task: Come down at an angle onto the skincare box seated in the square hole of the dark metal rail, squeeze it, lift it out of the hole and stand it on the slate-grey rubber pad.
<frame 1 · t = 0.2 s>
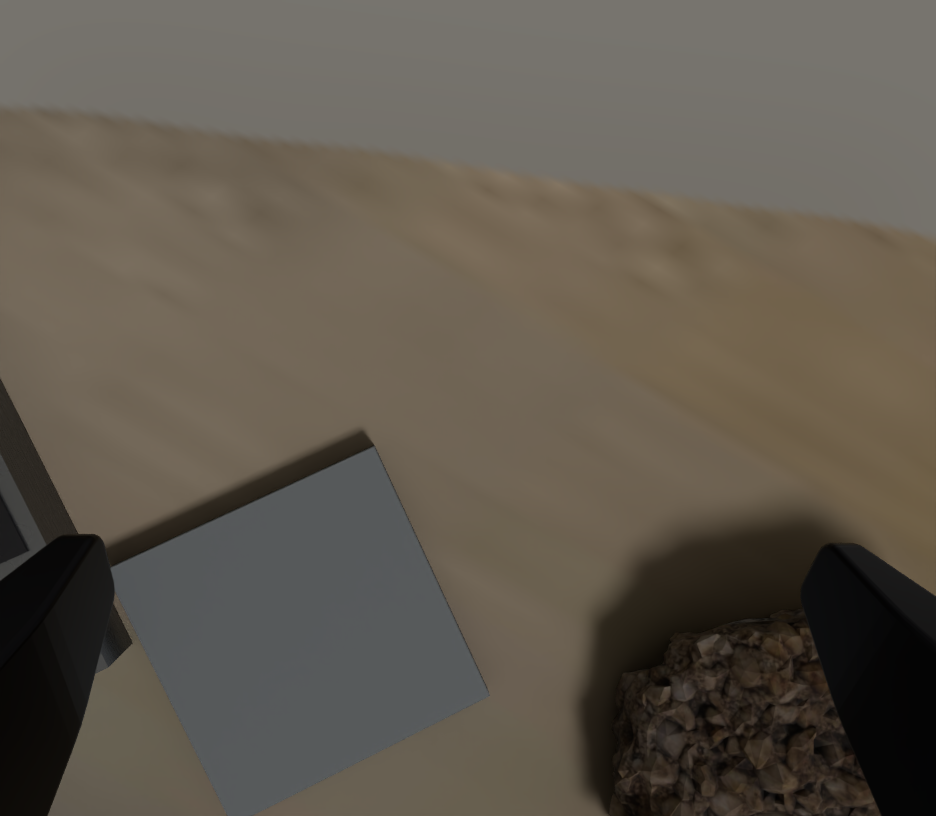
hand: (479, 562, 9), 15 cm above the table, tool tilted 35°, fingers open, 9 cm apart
pad: (305, 628, 23), on the table
concrete sample: (759, 711, 26), on the table
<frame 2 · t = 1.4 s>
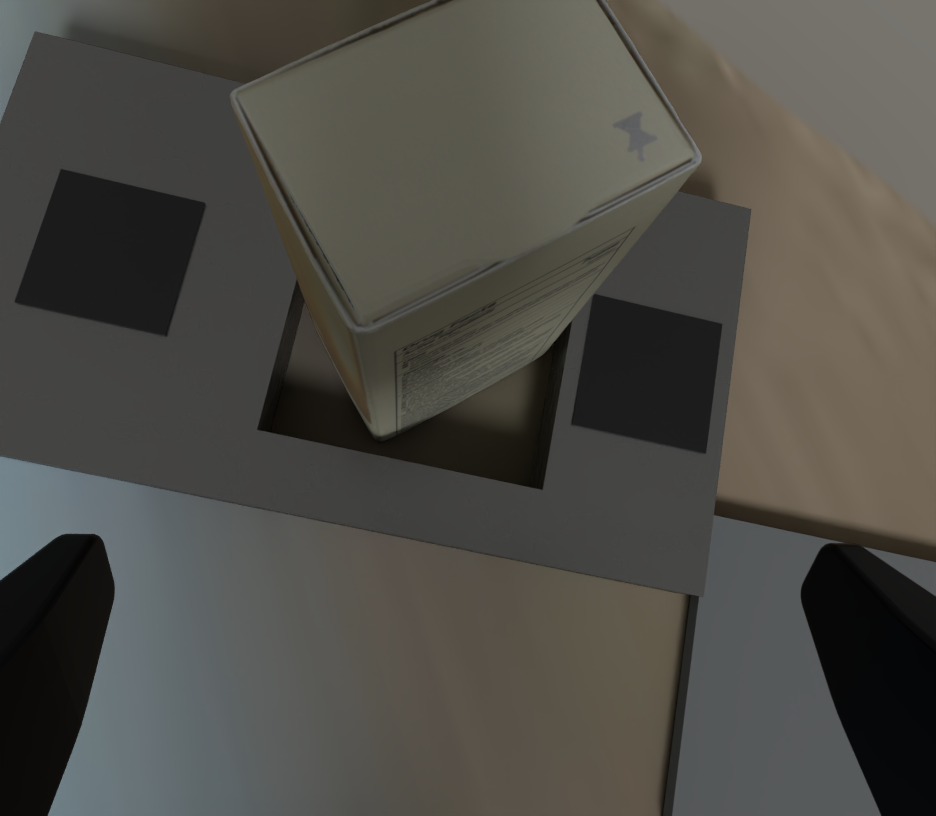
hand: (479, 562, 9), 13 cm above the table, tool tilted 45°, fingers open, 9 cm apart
skincare box: (426, 345, 23), resting in rail
pad: (822, 690, 22), on the table
rail: (427, 343, 23), on the table
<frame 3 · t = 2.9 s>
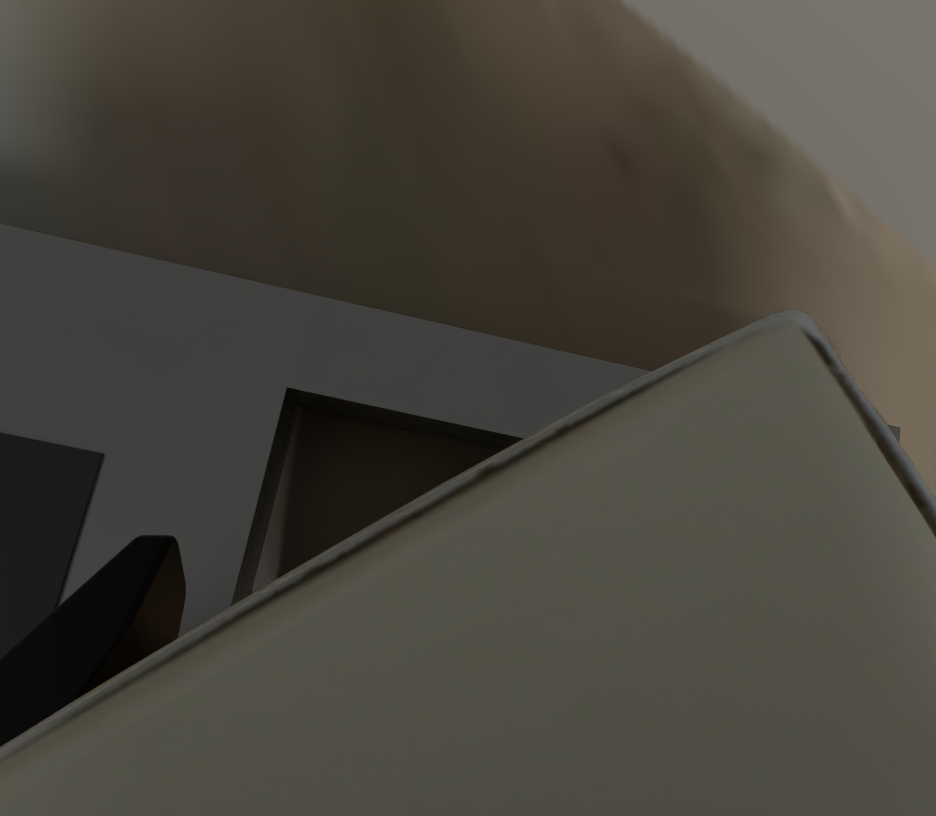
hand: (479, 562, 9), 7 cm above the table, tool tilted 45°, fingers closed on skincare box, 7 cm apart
skincare box: (434, 618, 16), resting in rail, touching gripper
rail: (435, 620, 16), on the table
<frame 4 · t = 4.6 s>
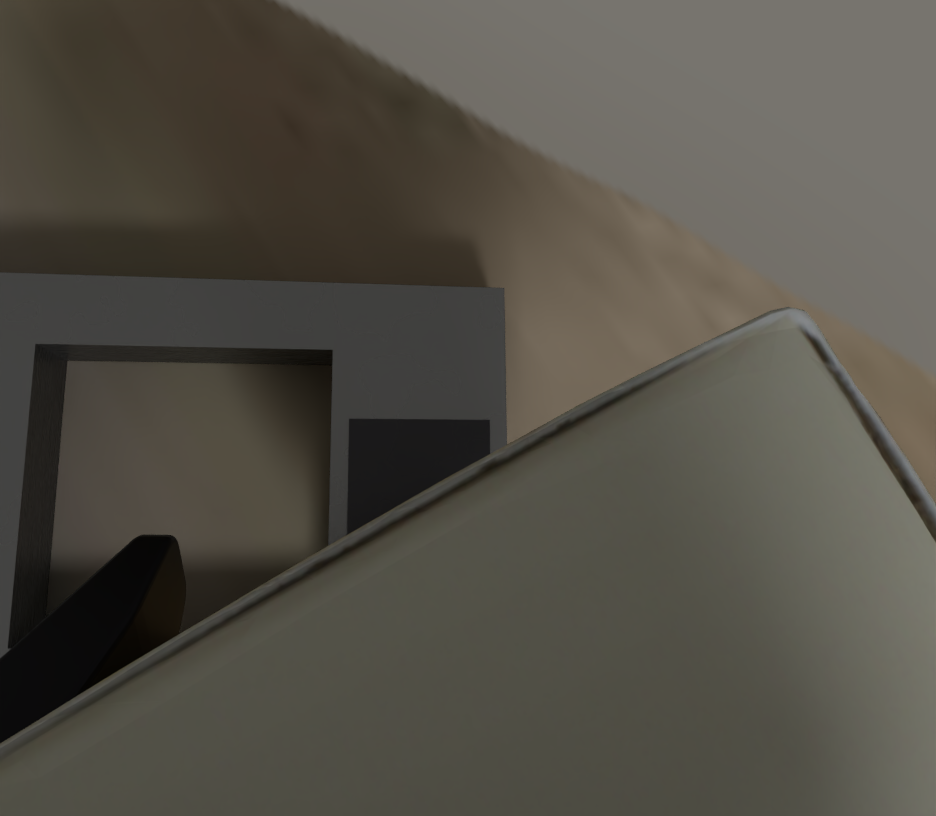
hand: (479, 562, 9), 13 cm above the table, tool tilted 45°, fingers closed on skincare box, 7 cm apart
skincare box: (428, 614, 16), point 6 cm above the table, touching gripper
rail: (198, 493, 21), on the table
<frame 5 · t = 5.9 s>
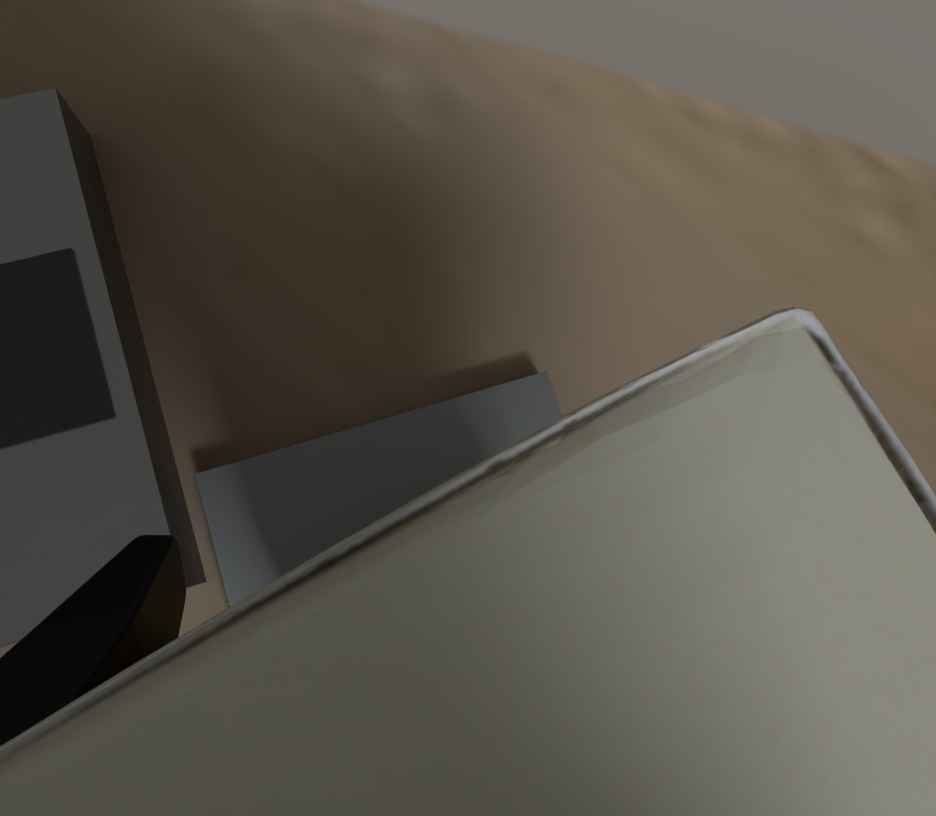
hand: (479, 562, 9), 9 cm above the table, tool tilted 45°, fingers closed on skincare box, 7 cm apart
skincare box: (429, 614, 16), point 2 cm above the table, touching gripper
pad: (429, 595, 18), on the table
when the fingers open (9 cm above the table, at t = 6.5 s): skincare box stays where it is, resting on pad.
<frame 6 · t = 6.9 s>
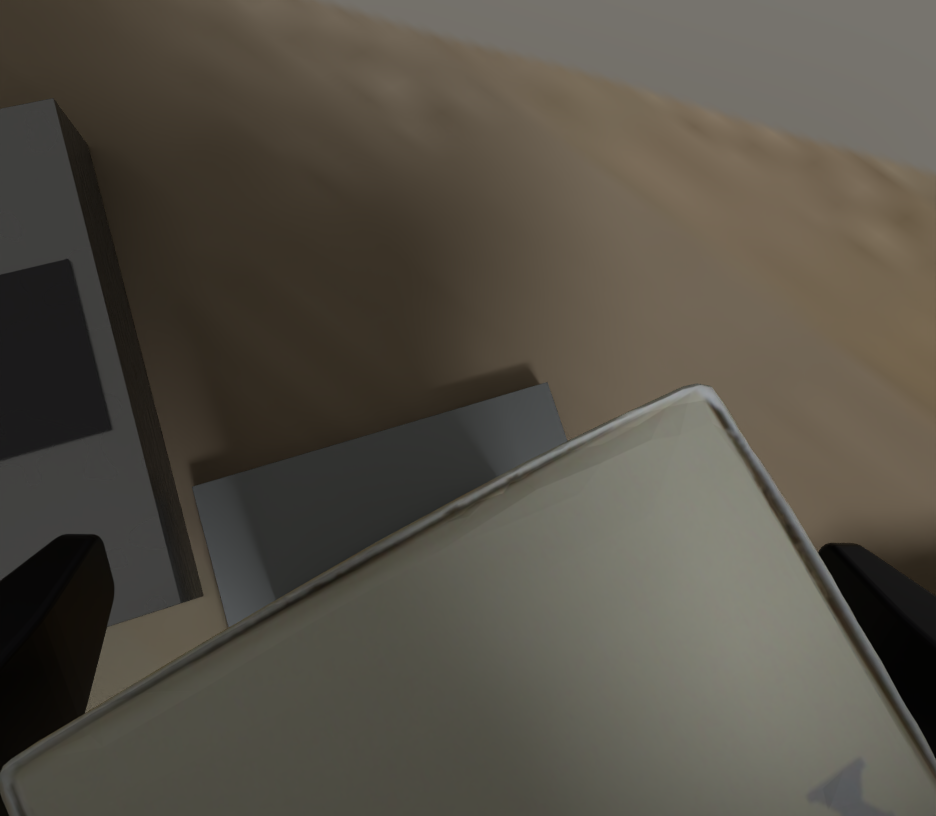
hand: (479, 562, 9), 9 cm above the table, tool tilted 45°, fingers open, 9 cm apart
skincare box: (425, 619, 17), resting on pad
pad: (429, 610, 18), on the table
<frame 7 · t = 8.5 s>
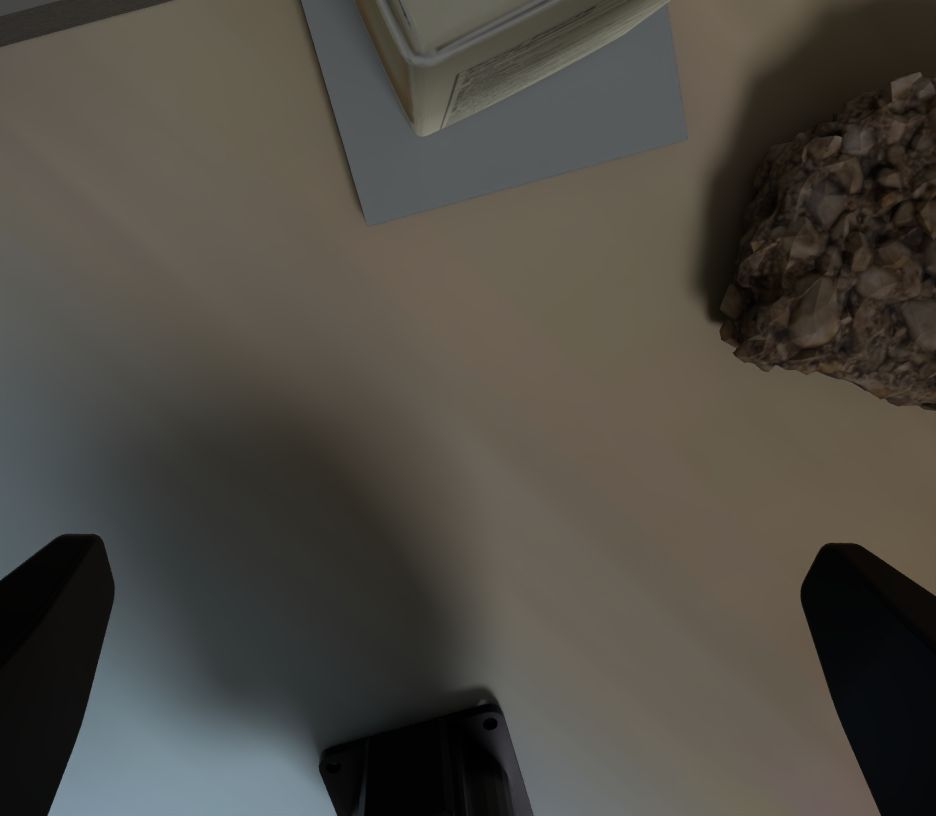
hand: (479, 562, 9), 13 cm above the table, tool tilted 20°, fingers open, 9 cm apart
skincare box: (481, 10, 18), resting on pad
pad: (485, 7, 19), on the table
concrete sample: (905, 242, 22), on the table
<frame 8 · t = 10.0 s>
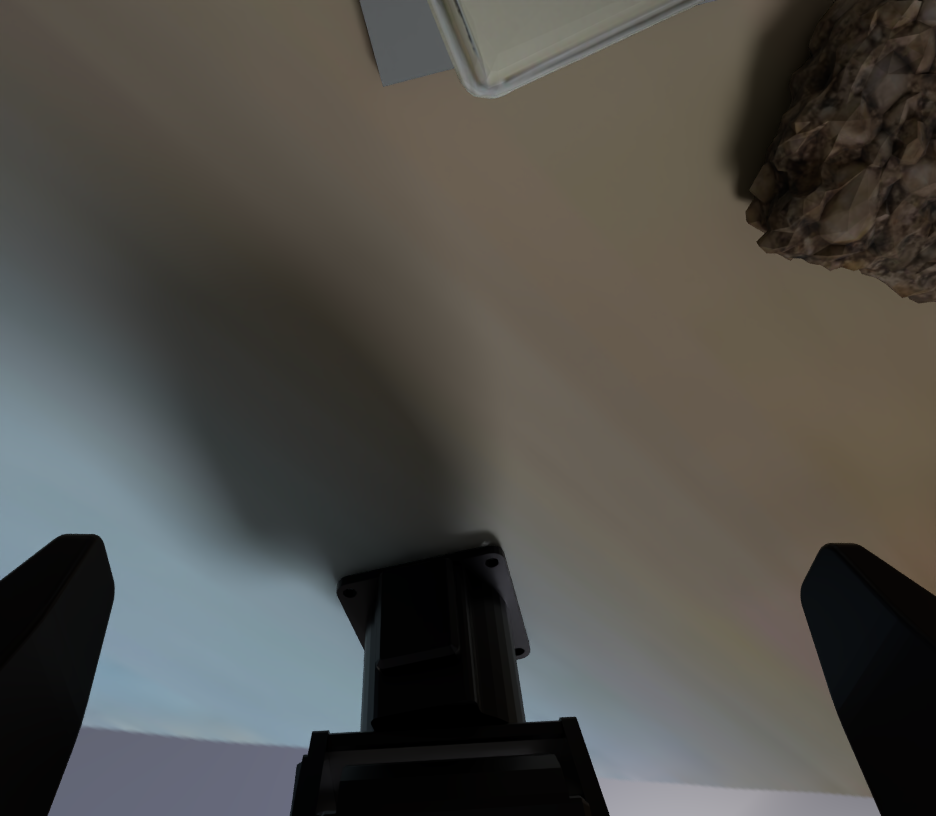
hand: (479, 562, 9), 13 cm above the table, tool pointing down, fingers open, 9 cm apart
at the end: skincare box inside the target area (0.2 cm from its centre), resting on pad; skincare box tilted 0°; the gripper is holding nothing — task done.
